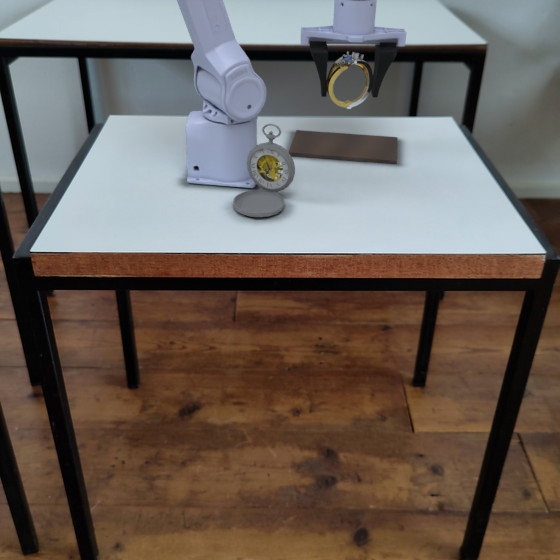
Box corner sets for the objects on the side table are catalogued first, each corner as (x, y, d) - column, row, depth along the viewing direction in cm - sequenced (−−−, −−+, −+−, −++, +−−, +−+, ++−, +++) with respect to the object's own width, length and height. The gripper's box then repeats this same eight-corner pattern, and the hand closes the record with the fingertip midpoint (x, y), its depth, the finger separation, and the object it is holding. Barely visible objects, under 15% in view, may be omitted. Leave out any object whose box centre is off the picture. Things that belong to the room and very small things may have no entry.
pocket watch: (236, 221, 86) (234, 146, 81) (229, 191, 93) (227, 120, 88) (300, 217, 87) (303, 143, 82) (289, 188, 94) (291, 117, 89)
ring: (366, 102, 104) (371, 48, 100) (374, 110, 102) (379, 55, 97) (322, 106, 103) (325, 51, 98) (328, 113, 100) (331, 57, 96)
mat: (288, 155, 103) (288, 152, 103) (296, 133, 111) (296, 129, 110) (396, 164, 101) (397, 160, 101) (397, 140, 109) (397, 137, 109)
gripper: (303, 2, 90) (299, 103, 98) (414, 3, 90) (402, 104, 98) (301, -10, 96) (298, 87, 104) (405, -8, 96) (395, 88, 104)
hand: (348, 94), depth 101 cm, fingers closed on ring, 7 cm apart
